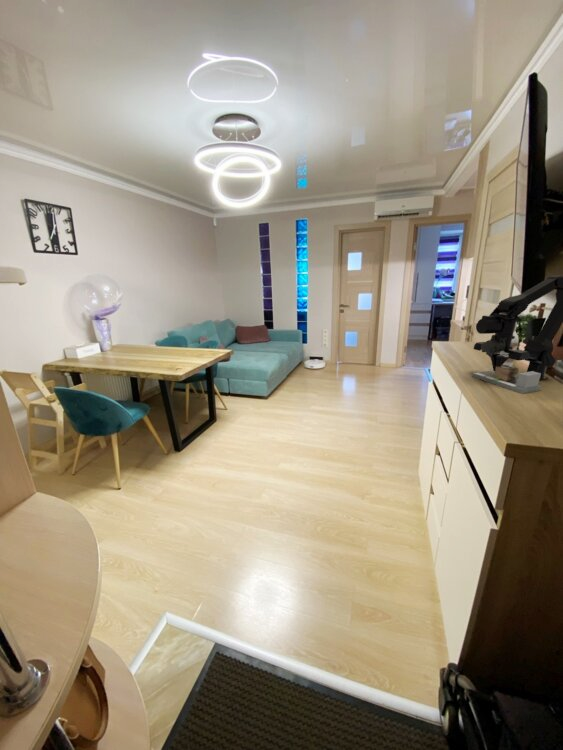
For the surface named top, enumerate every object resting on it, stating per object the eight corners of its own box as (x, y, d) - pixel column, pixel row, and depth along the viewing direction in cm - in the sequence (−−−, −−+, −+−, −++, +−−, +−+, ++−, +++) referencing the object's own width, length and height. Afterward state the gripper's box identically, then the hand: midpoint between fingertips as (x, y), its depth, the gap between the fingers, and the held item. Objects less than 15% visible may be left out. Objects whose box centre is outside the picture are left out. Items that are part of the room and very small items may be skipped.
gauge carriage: (503, 375, 124) (506, 363, 122) (522, 381, 117) (526, 369, 116) (490, 377, 122) (493, 365, 120) (509, 384, 115) (513, 371, 113)
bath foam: (508, 368, 138) (519, 324, 132) (491, 365, 144) (500, 322, 137) (514, 366, 142) (525, 322, 135) (498, 362, 147) (508, 320, 141)
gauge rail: (489, 373, 132) (492, 359, 130) (540, 390, 114) (545, 373, 112) (472, 376, 128) (475, 361, 126) (522, 393, 111) (526, 376, 109)
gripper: (467, 330, 125) (460, 366, 130) (514, 339, 108) (504, 381, 113) (487, 328, 128) (479, 364, 133) (535, 337, 112) (524, 377, 117)
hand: (495, 371), depth 124 cm, fingers closed
